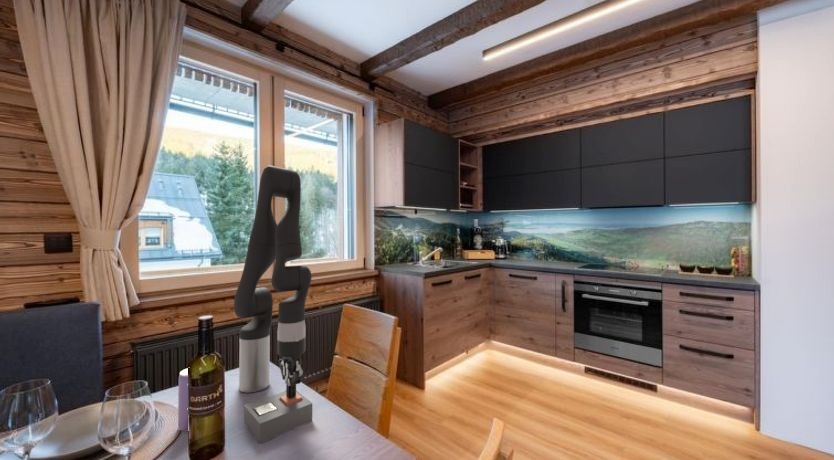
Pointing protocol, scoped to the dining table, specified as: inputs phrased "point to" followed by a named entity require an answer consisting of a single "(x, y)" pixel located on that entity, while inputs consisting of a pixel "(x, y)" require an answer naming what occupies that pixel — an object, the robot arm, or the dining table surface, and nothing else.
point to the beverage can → (183, 401)
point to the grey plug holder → (276, 417)
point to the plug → (265, 409)
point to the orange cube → (287, 401)
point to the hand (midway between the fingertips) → (291, 397)
